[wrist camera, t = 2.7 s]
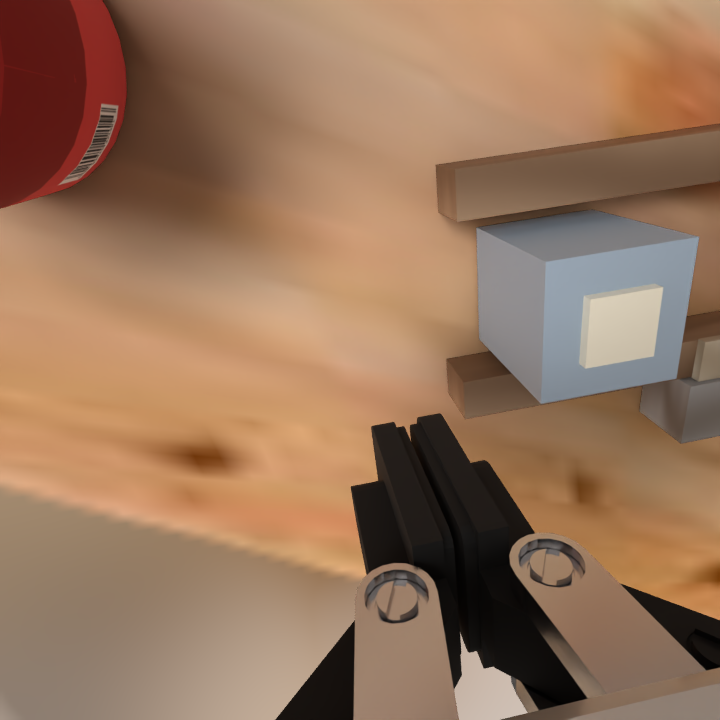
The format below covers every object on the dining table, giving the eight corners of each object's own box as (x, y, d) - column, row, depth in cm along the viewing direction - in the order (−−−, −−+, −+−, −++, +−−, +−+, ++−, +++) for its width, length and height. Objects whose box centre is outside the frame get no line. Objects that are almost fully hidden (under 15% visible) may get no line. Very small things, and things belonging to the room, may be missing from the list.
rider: (476, 227, 21) (552, 264, 15) (592, 209, 21) (709, 239, 15) (479, 339, 23) (546, 409, 17) (584, 320, 23) (684, 383, 18)
